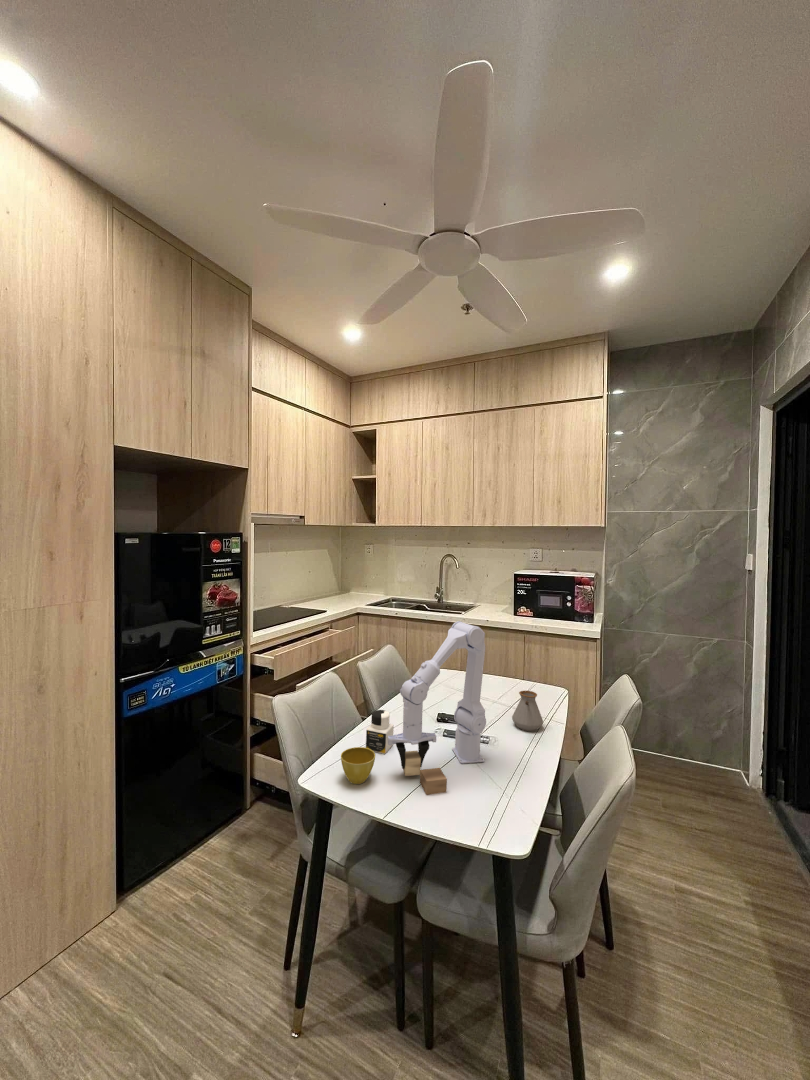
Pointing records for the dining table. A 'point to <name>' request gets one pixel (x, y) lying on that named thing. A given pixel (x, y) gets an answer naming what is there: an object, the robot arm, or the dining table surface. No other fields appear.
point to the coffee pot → (527, 712)
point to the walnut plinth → (433, 781)
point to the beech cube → (412, 763)
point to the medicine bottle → (379, 732)
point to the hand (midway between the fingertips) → (411, 766)
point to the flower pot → (357, 764)
